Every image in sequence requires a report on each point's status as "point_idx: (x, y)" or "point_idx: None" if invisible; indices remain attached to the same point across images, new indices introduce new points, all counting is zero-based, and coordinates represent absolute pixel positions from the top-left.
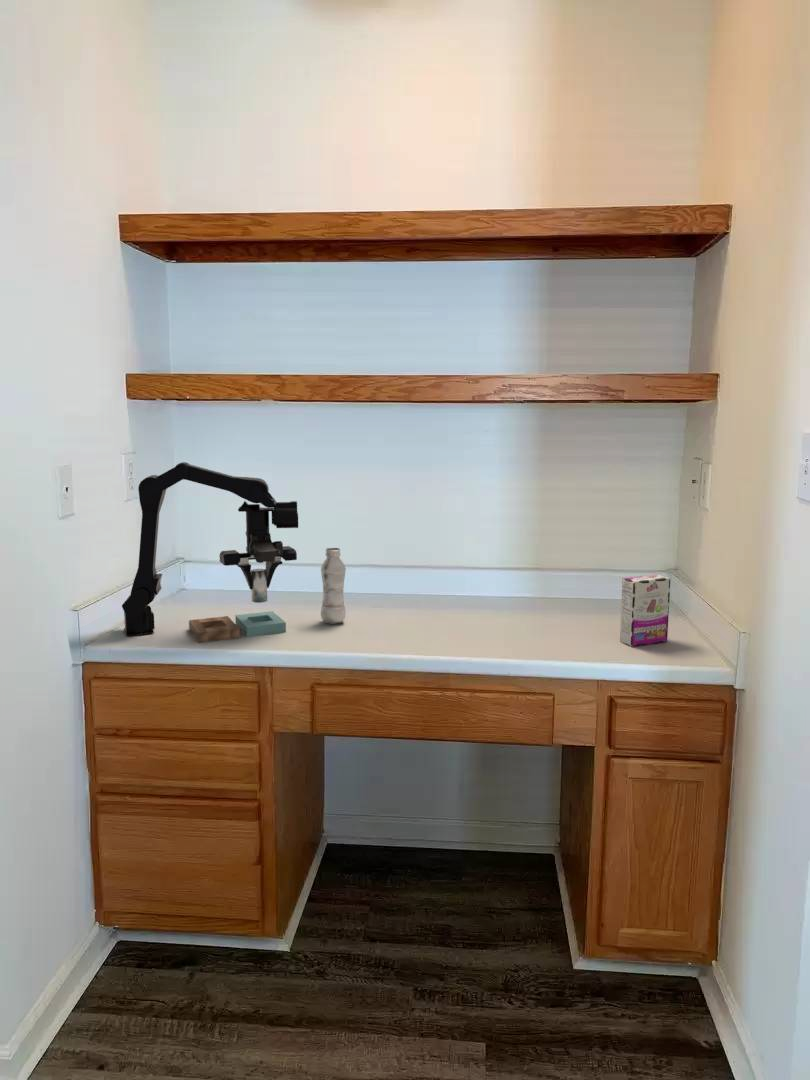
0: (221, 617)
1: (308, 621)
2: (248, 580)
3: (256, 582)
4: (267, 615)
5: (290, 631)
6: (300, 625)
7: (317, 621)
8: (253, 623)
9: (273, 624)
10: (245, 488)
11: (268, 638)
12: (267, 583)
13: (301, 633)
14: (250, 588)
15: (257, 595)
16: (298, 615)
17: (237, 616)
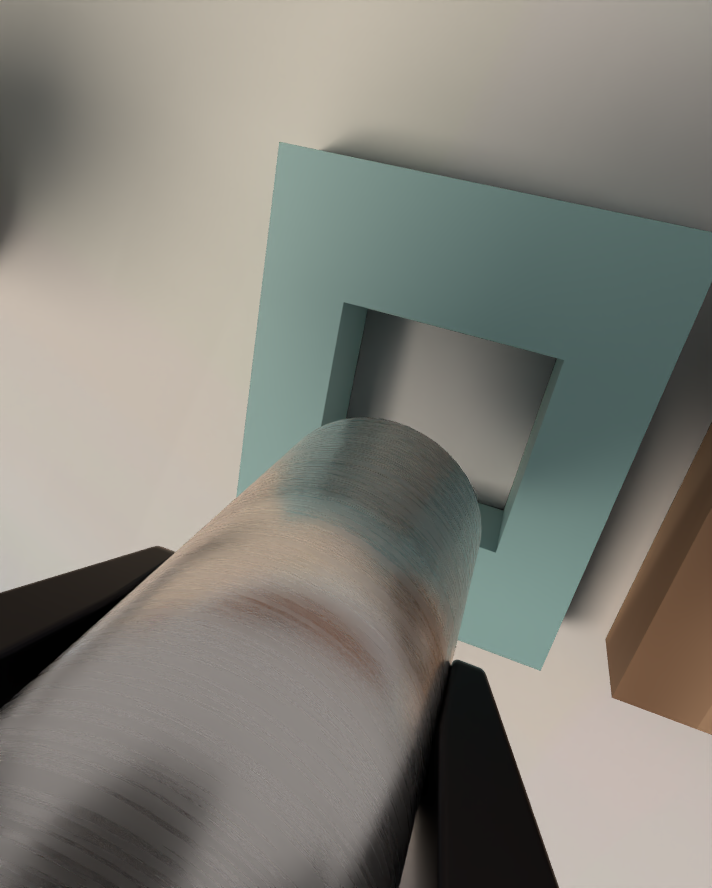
0: (692, 703)
1: (67, 323)
2: (538, 865)
3: (362, 675)
4: None
5: (276, 147)
6: (146, 264)
7: (14, 280)
8: (574, 325)
9: (410, 169)
10: None
11: (564, 34)
12: (126, 592)
13: (222, 16)
14: (486, 683)
15: (425, 498)
16: (82, 491)
17: (550, 629)
